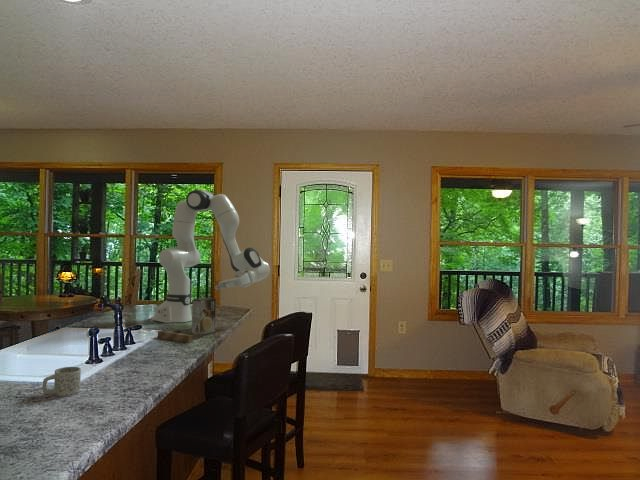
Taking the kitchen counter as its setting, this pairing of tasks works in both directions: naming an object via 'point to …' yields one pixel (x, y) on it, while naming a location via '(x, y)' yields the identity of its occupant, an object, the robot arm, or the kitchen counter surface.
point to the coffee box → (203, 315)
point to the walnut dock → (177, 336)
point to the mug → (64, 382)
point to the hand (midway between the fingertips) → (220, 287)
